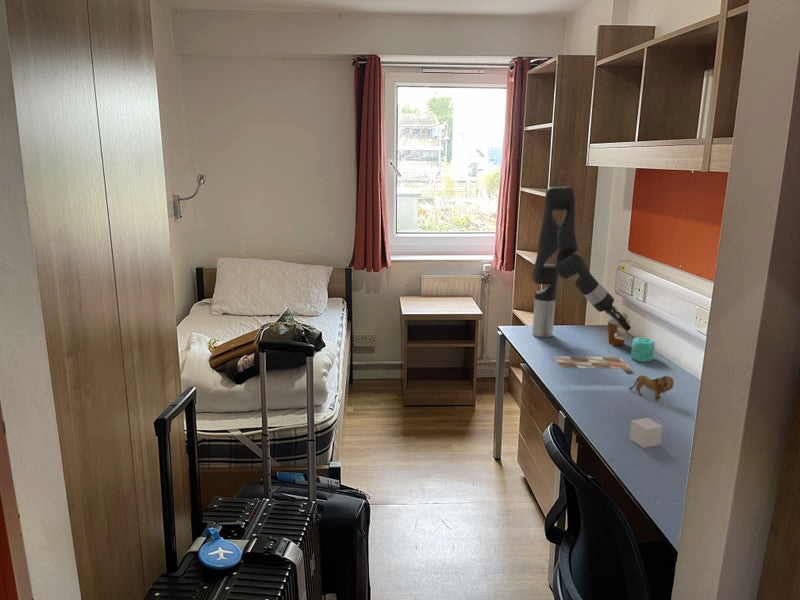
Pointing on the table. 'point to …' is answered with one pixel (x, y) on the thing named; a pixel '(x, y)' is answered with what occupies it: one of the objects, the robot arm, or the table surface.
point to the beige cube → (645, 432)
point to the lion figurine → (654, 385)
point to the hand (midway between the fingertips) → (627, 327)
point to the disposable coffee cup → (612, 330)
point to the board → (593, 362)
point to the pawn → (621, 330)
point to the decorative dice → (642, 349)
